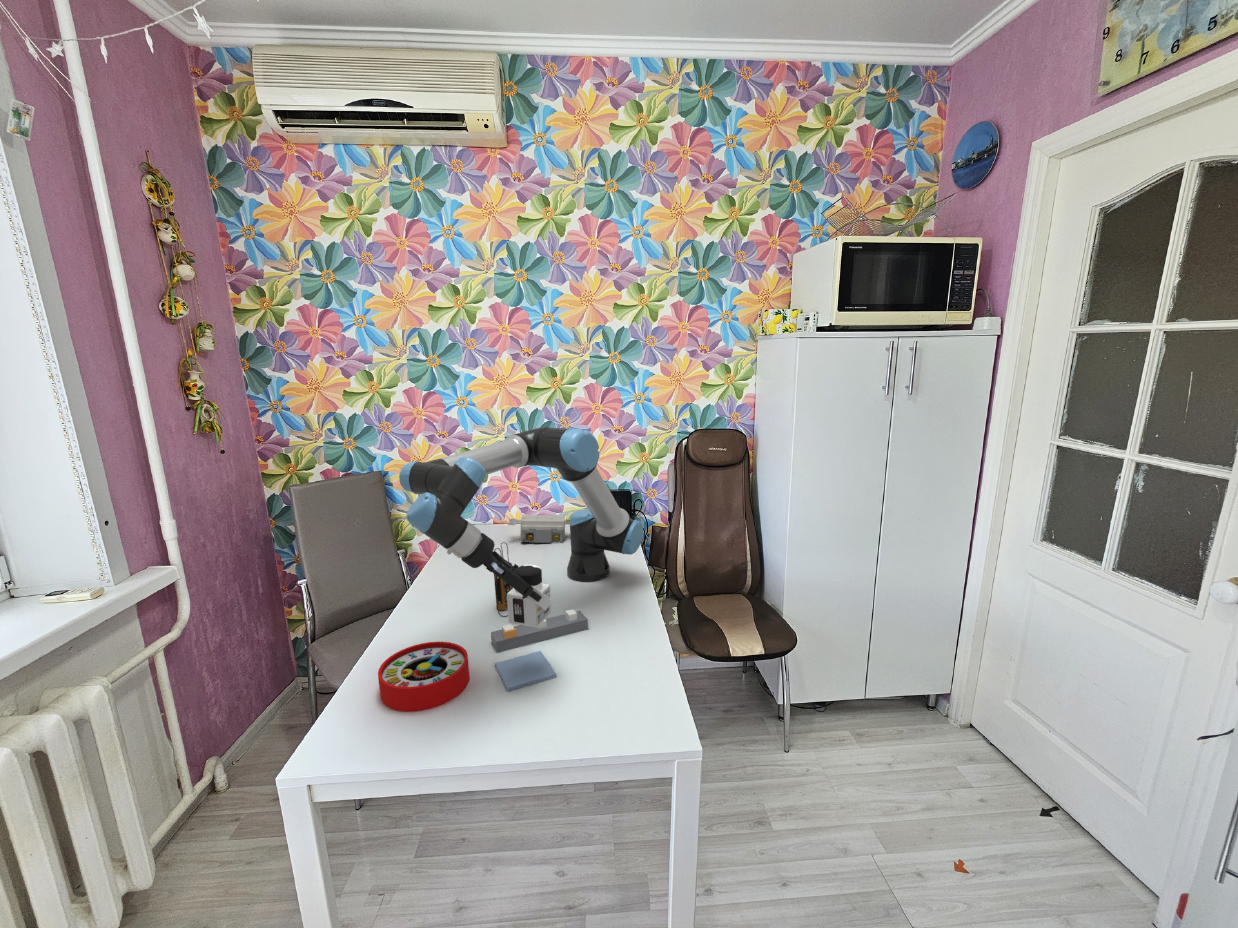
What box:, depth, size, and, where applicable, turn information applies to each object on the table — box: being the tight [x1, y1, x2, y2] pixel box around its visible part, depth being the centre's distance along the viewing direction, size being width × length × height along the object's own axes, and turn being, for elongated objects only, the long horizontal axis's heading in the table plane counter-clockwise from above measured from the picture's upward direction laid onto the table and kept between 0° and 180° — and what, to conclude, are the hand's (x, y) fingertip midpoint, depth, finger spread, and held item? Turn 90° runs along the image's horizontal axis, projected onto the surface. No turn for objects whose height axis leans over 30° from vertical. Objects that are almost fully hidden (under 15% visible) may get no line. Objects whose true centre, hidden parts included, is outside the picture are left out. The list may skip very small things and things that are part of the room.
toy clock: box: [377, 641, 471, 713], centre depth 128 cm, size 20×6×20 cm
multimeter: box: [493, 541, 513, 618], centre depth 166 cm, size 15×10×20 cm
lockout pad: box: [494, 650, 558, 692], centre depth 133 cm, size 12×12×1 cm
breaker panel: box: [490, 608, 589, 653], centre depth 149 cm, size 26×6×5 cm, turn 116°
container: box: [507, 564, 552, 627], centre depth 129 cm, size 8×8×13 cm
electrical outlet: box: [507, 514, 570, 544], centre depth 229 cm, size 12×28×10 cm, turn 97°
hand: (540, 596), depth 131 cm, fingers closed on container, 10 cm apart
